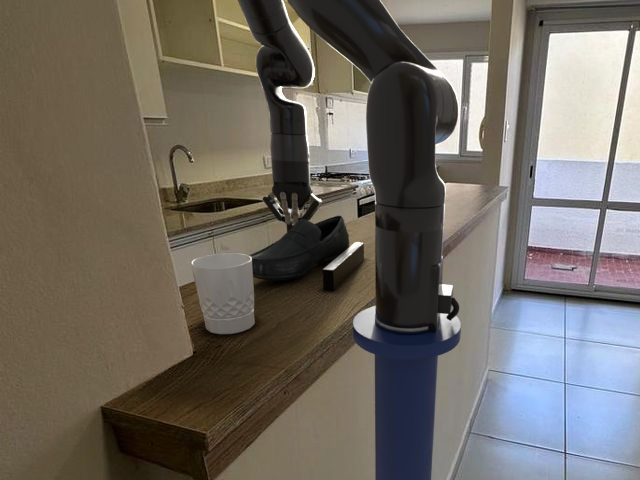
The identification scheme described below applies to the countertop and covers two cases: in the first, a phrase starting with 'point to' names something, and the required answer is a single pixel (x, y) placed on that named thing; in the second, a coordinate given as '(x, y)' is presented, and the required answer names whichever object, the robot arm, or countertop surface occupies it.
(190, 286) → the countertop surface
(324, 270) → the shoe rail
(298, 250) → the loafer
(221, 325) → the white cup
